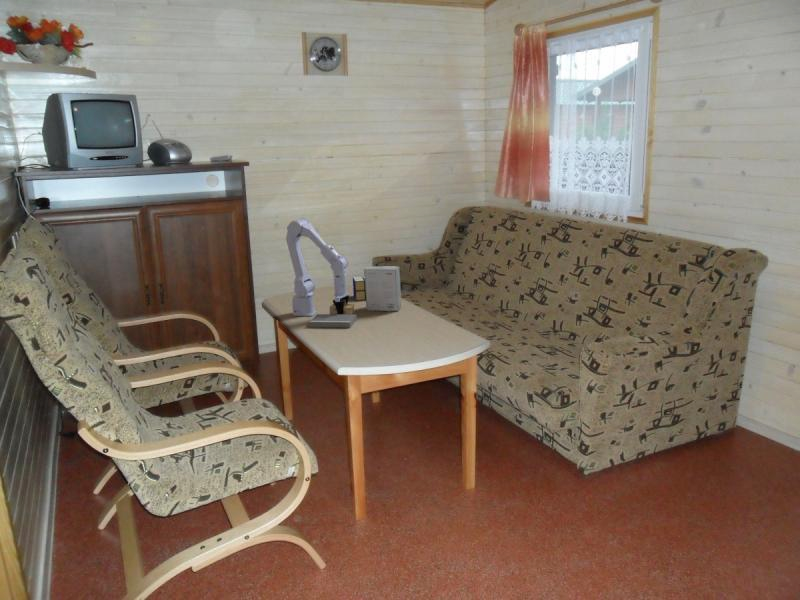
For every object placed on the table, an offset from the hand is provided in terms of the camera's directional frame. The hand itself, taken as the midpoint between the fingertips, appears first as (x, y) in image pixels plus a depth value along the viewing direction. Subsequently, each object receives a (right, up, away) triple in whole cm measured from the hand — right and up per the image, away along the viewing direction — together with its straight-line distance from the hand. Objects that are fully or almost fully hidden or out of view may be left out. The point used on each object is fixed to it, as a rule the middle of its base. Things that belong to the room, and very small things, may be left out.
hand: (342, 313), depth 296 cm
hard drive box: (+19, +2, +10) cm, 21 cm away
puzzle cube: (+8, +7, +32) cm, 34 cm away
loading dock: (-3, -4, -11) cm, 12 cm away
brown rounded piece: (0, +3, -1) cm, 4 cm away
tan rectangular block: (0, -1, 0) cm, 2 cm away
